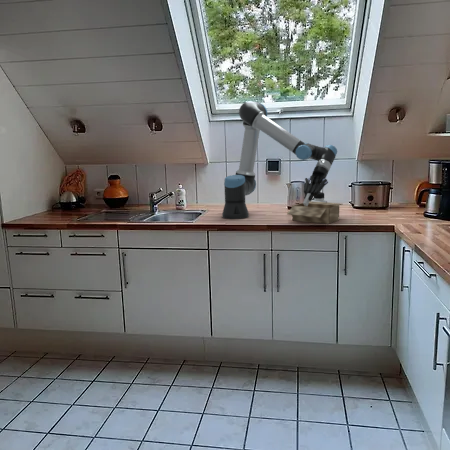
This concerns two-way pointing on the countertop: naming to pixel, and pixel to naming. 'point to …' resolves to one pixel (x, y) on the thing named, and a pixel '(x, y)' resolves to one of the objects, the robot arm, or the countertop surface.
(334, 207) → the carton
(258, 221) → the countertop surface
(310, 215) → the flap
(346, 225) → the countertop surface
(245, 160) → the robot arm
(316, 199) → the medicine bottle
